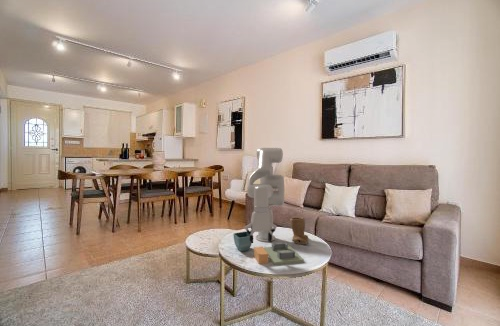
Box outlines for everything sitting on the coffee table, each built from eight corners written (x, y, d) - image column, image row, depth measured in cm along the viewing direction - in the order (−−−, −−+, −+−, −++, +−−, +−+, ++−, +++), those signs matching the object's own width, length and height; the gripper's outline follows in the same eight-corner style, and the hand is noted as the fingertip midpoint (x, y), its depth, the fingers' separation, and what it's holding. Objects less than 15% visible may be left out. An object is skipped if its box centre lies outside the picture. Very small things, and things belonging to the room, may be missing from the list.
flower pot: (238, 253, 141) (238, 237, 141) (232, 248, 149) (232, 233, 149) (252, 251, 145) (252, 235, 144) (246, 245, 153) (246, 231, 152)
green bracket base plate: (263, 249, 146) (263, 242, 146) (289, 247, 150) (289, 240, 150) (274, 265, 127) (274, 256, 127) (303, 262, 130) (303, 253, 130)
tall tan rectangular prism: (253, 256, 138) (253, 247, 138) (262, 255, 139) (262, 246, 139) (258, 264, 128) (258, 254, 128) (268, 263, 129) (268, 253, 129)
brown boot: (290, 236, 171) (291, 214, 170) (308, 237, 167) (309, 215, 167) (287, 244, 156) (288, 220, 155) (307, 246, 153) (307, 221, 152)
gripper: (274, 207, 138) (274, 238, 138) (243, 208, 134) (243, 240, 134) (279, 210, 130) (278, 243, 131) (246, 211, 127) (246, 245, 127)
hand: (260, 241), depth 132 cm, fingers open, 9 cm apart
